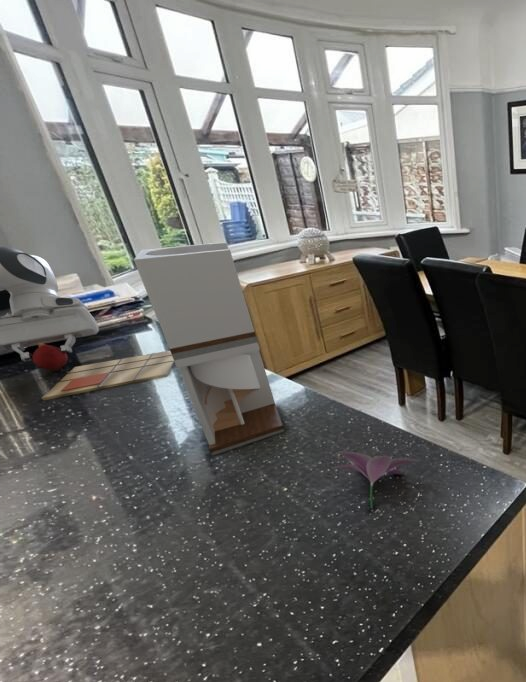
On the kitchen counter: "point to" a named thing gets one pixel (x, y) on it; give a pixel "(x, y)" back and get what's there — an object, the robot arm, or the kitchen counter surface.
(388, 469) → the lily
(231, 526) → the kitchen counter surface
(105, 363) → the grid board
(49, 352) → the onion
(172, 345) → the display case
